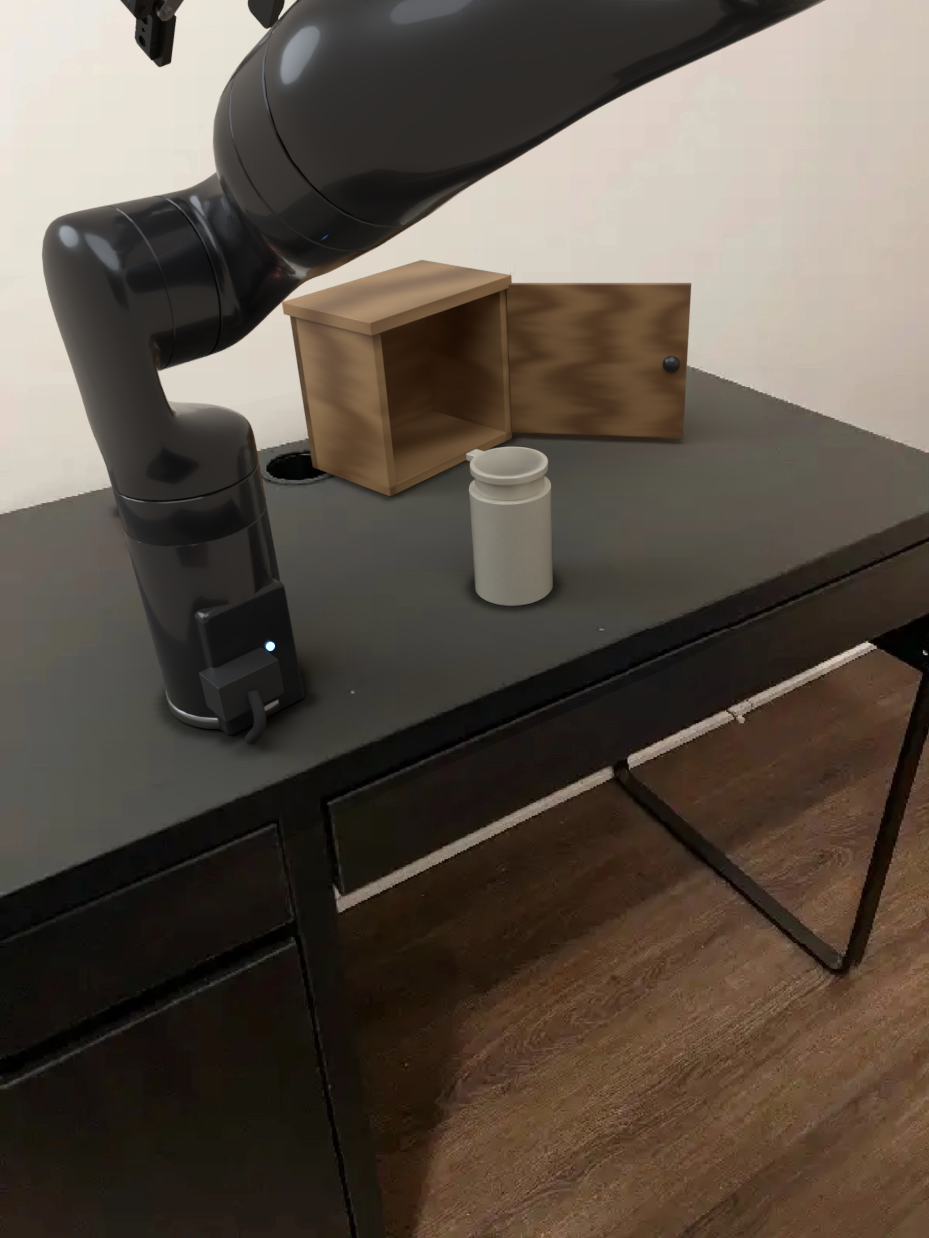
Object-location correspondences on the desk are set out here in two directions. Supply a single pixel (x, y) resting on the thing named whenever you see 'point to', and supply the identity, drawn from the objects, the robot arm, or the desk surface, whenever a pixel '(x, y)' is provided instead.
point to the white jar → (511, 525)
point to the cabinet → (480, 366)
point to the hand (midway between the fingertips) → (209, 36)
